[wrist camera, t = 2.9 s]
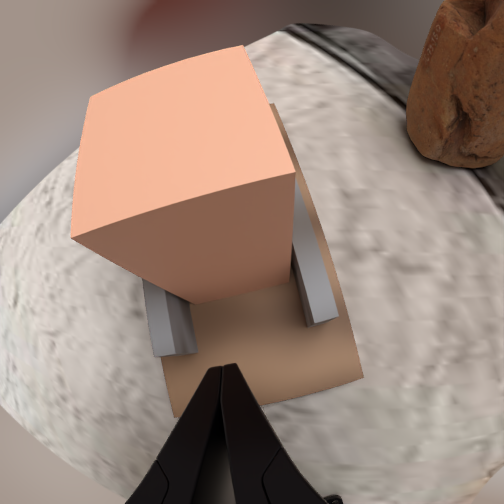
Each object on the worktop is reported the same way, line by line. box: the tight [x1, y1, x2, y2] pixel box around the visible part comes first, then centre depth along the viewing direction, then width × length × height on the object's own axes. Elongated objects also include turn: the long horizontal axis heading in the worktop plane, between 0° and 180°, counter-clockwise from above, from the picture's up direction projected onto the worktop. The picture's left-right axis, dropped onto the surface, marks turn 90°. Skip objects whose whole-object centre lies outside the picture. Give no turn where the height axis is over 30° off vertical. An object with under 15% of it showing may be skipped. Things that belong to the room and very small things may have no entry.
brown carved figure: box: [406, 0, 504, 168], centre depth 12 cm, size 11×8×20 cm
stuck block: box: [71, 45, 296, 305], centre depth 13 cm, size 6×6×12 cm
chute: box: [142, 103, 364, 418], centre depth 18 cm, size 22×12×6 cm, turn 13°
